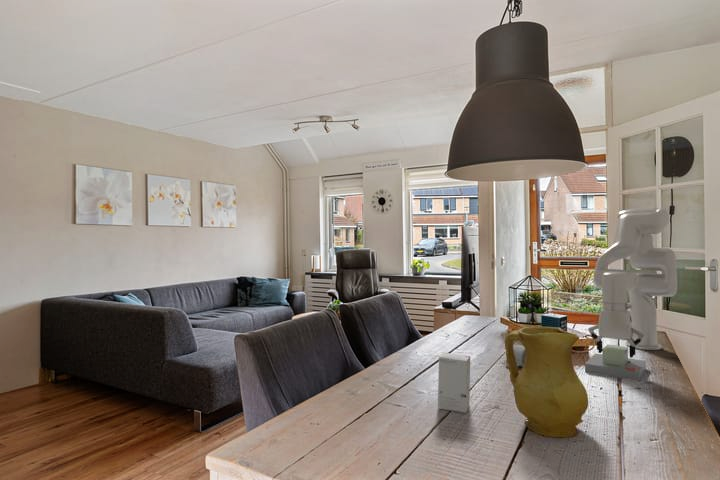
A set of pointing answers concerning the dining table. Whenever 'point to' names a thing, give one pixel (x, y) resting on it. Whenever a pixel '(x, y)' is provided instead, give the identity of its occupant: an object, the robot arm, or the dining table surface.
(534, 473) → the dining table surface
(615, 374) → the socket plate
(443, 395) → the skincare box
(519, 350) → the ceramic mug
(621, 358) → the plug
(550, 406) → the pitcher
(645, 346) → the robot arm
